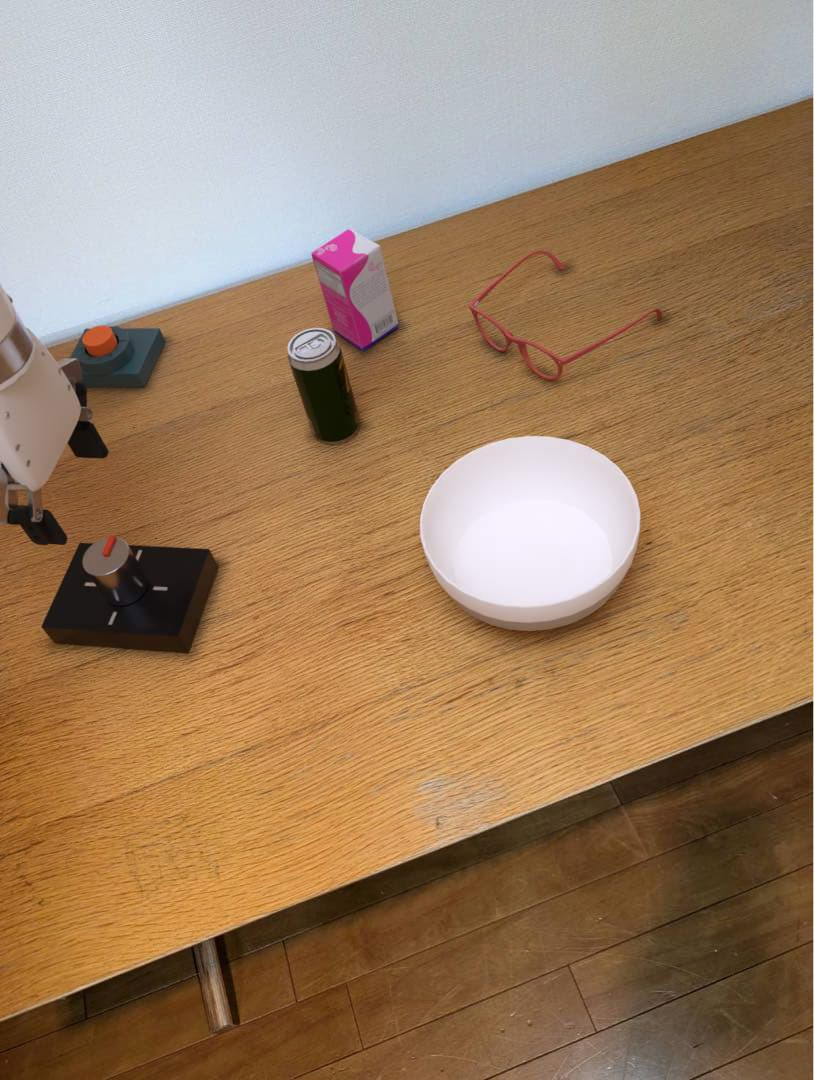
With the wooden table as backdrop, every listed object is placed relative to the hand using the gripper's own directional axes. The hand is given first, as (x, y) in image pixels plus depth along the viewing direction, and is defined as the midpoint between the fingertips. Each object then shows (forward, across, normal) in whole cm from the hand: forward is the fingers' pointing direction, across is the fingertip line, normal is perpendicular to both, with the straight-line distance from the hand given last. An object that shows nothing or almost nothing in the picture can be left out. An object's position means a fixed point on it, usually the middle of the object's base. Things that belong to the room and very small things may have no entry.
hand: (72, 497), depth 86 cm
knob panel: (+15, +2, +1) cm, 15 cm away
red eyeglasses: (+14, -39, +39) cm, 57 cm away
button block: (+15, -32, -14) cm, 38 cm away
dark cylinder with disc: (+12, +2, +1) cm, 12 cm away
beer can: (+15, -23, +16) cm, 31 cm away
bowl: (+14, -5, +39) cm, 42 cm away
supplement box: (+15, -38, +16) cm, 44 cm away
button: (+11, -31, -14) cm, 36 cm away
